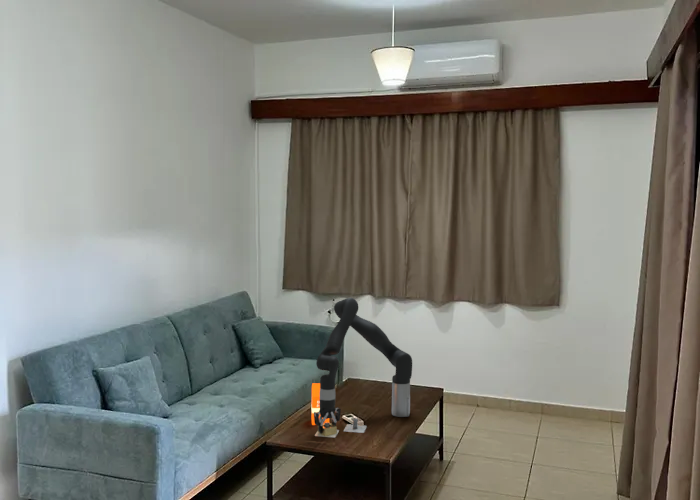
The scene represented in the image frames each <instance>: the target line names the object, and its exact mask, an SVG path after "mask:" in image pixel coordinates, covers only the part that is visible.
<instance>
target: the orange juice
mask: <svg viewBox="0 0 700 500" xmlns="http://www.w3.org/2000/svg"><path fill="white" fill-rule="evenodd" d="M319 403H320V382H318V383H316V382H315V383H314V382H312V384H311V409H310V410H311V426H316V424H315V422H314V412H319V410H320V406H319ZM319 418H320V415H319ZM322 419H323V418H322ZM330 420H331V418H328V419H326V420H325V422H324V423H323V424H325V423H326V422H328V423H330Z"/></svg>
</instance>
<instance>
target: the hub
mask: <svg viewBox="0 0 700 500" xmlns="http://www.w3.org/2000/svg"><path fill="white" fill-rule="evenodd" d="M324 424H325V427H330V422H329V423H328V422H326V423H324ZM339 431H340V429H337V434H333V435H328V436H324V435H322V434H320V433H319V432H318V430H317V431H316V433H315V434H314V436H315V437H323V438H336V437H337V436H338V433H339Z"/></svg>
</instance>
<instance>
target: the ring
mask: <svg viewBox="0 0 700 500" xmlns="http://www.w3.org/2000/svg"><path fill="white" fill-rule="evenodd" d="M329 423H330V422H329ZM322 426H323V433H322V435H324V436H328V435H333V434H337V430H338V429H337V428H338V427H337V425H336V426H335V425H333V424H332V422H331V423H330V427H325V423H323V425H322ZM317 431H318V430H317ZM318 432H319V431H318ZM320 434H321V433H320ZM337 435H338V434H337Z"/></svg>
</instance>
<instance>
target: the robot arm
mask: <svg viewBox="0 0 700 500" xmlns="http://www.w3.org/2000/svg"><path fill="white" fill-rule="evenodd" d="M333 307H334V308H333V309H334V313H335V315H336V316H337V317H338V318H339V321H338V323H337V324H336V326H334V328H333V329H332V331H331V333H330V334H329V337H328V340H327V342H326V346H325V347H324V348H323V349H322V351H321V352H320V354H319V355H318V357H317V358H316V364H315V365H316V368H317V369H318V370H319V371H325V372H326V371H327V372H328V374H322V375H321V376H320V379H319V380H320V381H319V383H320V403H319V406H320V410H319V412H314V422H315V424H316V425H317V431H319V433H321V434H322V433H323V426H322V425H323V424H325V423H324V422H325V420H326V419H328V418H330V420H331V424H333V425H335V426H337V422H340V420H341V411H342V410H341V408H339V407H336V376H337V373H338V369H339V366H340V361H339V360H340V359H338V357H336V356H335V355H338V354H340V351H341V348H342V345H343V343H344V340H345V337H346V335H347V333H348V330H349V328H350V327H351V328H352V329H354V331H356V333H358V335H360V336H362V337H361V338H363V339H365V341H366V342H367V343H369V344H370V345H371V346H372V347H373V348H375V349H376V350H377V351H379V352H380V353H382V354H383V356H384V357H385V358H386V359H387V361H389V363H390V364H391V365H392V366H393V367H394V368H395V374H393V376H392V379H391V380H392V381H391V390H392V391H391V415H392V416H393V417H396V418H397V417H399V418H404V417H405V418H406V417H410V413H411V378H412V377H413V376H412V373H413V359H412V355H410V354H409V353H407V352H406V351H404V350H402V349H400V348H399V347H398V346H396V345H395V344H393V343H392V342H391V340H390V339H389V337H388V336H387V334H386V333H385V332H384V331H383V329H381V328H380V327H379V326H378V325H377V324H376V323H374V322H372V321H370V320H367V319H365V318H362V317H360V316H359V315H358V314H357V313H358V311H359V304H358V301H357V299H355V298H353V297H347V298H344V299H341V300H339V301H337V302H336V303H335V304H334V306H333ZM319 415H320V418H319ZM322 418H323V419H322ZM316 425H315V426H316Z"/></svg>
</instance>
